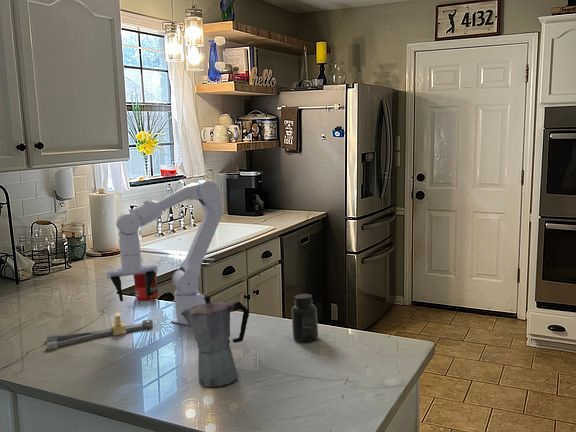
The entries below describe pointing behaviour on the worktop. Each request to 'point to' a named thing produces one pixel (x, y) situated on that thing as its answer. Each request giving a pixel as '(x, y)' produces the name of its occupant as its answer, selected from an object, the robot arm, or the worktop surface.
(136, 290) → the canned food
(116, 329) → the collar
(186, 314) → the moka pot
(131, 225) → the robot arm
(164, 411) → the worktop surface
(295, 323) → the supplement bottle
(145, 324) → the grey long bar part
